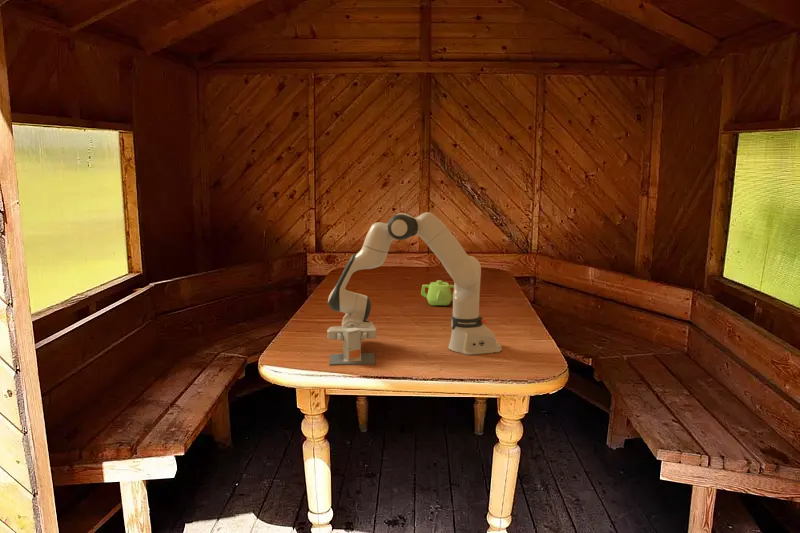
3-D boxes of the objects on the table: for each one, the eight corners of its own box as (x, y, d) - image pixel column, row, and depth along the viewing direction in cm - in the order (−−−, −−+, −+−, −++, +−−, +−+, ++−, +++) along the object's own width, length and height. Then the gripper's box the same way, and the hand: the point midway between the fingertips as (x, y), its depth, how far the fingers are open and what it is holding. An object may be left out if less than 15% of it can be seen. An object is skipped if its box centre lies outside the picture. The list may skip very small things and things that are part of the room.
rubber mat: (374, 354, 266) (374, 352, 266) (375, 364, 254) (375, 362, 254) (330, 355, 265) (330, 353, 265) (329, 365, 253) (329, 363, 253)
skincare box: (348, 360, 256) (347, 331, 254) (343, 358, 259) (342, 329, 257) (361, 358, 259) (361, 329, 257) (356, 355, 263) (355, 327, 261)
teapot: (458, 309, 341) (459, 285, 338) (421, 308, 341) (421, 284, 339) (456, 300, 359) (456, 278, 356) (420, 300, 359) (420, 277, 357)
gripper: (327, 322, 269) (325, 331, 255) (375, 321, 270) (377, 330, 257) (327, 336, 270) (326, 346, 257) (376, 335, 272) (377, 345, 258)
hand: (352, 338), depth 257 cm, fingers closed on skincare box, 7 cm apart
